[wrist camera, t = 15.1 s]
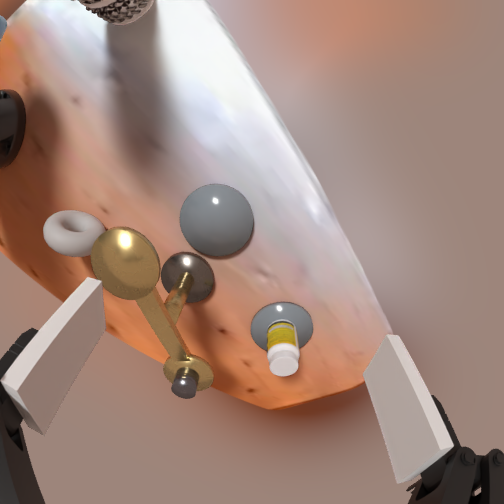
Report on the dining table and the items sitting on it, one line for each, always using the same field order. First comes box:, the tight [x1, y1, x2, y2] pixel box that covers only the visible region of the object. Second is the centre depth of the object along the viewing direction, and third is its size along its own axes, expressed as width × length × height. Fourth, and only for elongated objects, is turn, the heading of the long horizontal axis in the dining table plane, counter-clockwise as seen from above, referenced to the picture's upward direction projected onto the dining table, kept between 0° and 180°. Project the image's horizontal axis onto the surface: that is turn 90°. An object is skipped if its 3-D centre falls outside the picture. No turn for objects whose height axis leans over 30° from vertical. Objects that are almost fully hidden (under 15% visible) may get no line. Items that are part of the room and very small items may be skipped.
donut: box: [43, 210, 106, 257], centre depth 35 cm, size 10×4×10 cm, turn 66°
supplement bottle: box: [267, 319, 300, 376], centre depth 41 cm, size 5×5×8 cm
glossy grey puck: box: [180, 184, 253, 256], centre depth 39 cm, size 10×10×1 cm
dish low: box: [251, 302, 313, 351], centre depth 45 cm, size 10×10×1 cm
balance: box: [91, 227, 214, 399], centre depth 35 cm, size 8×26×16 cm, turn 8°
